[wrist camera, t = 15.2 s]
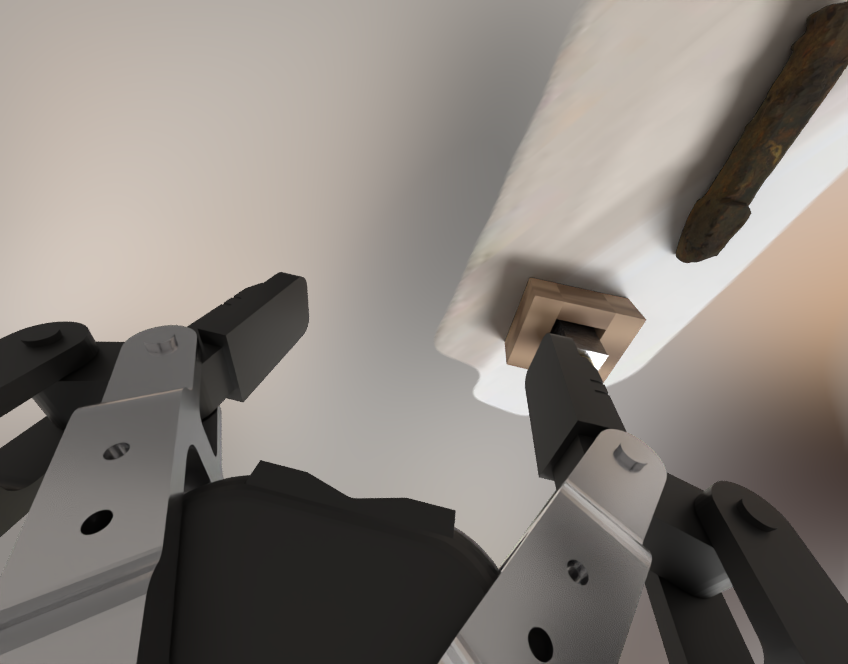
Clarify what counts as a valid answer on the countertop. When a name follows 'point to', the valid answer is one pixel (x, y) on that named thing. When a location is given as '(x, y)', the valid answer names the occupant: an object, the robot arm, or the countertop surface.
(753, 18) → the countertop surface
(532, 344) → the housing
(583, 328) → the bit
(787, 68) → the dark brown rod
